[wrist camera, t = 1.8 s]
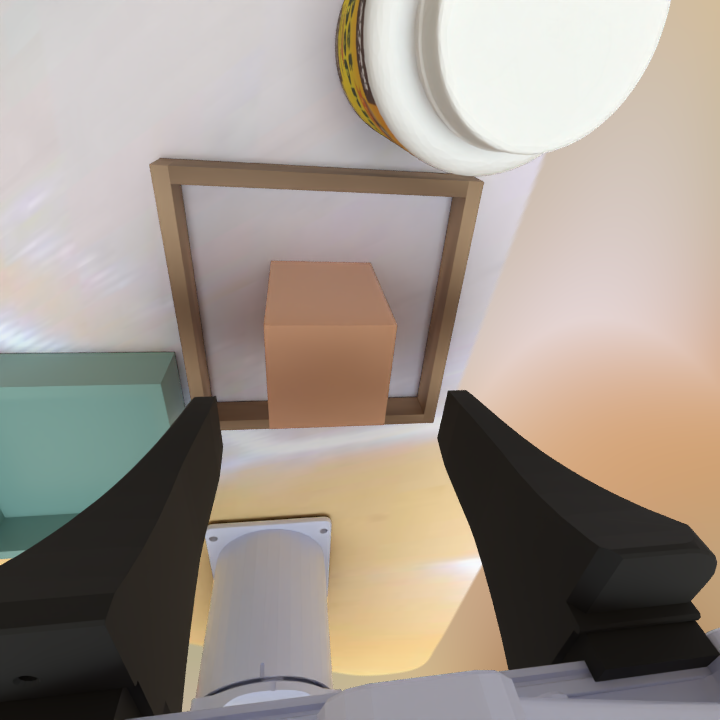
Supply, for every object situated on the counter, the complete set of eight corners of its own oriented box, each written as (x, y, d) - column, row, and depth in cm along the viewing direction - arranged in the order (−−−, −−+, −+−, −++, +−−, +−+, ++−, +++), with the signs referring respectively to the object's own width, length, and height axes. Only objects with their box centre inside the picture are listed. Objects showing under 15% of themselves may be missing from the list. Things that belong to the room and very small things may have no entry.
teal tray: (203, 506, 27) (196, 544, 24) (1, 519, 25) (-27, 561, 23) (174, 352, 20) (160, 384, 18) (-95, 354, 19) (-145, 390, 17)
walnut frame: (426, 405, 24) (433, 422, 23) (201, 411, 23) (196, 431, 21) (470, 174, 18) (484, 181, 17) (160, 158, 16) (149, 164, 15)
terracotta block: (362, 346, 22) (384, 424, 17) (274, 346, 21) (269, 429, 16) (370, 262, 19) (397, 325, 14) (271, 260, 19) (263, 325, 14)
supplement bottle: (305, -7, 14) (328, -137, 6) (466, -87, 14) (759, -368, 5) (366, 164, 17) (440, 246, 9) (499, 103, 17) (717, 128, 8)
